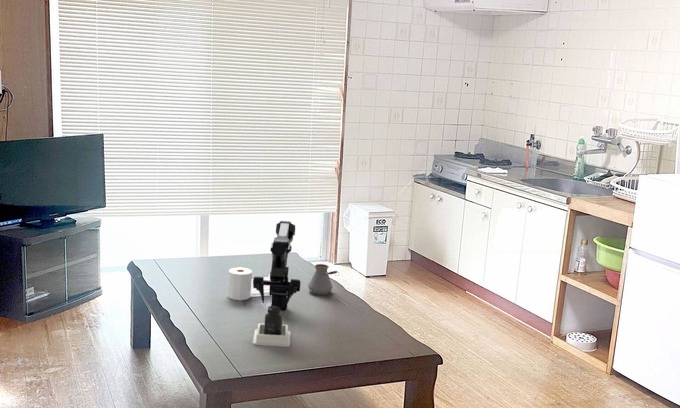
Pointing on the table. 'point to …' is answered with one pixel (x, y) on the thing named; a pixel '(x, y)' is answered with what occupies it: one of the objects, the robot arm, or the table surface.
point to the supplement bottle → (273, 321)
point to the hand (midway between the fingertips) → (274, 303)
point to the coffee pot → (321, 280)
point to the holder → (271, 337)
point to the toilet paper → (239, 283)
